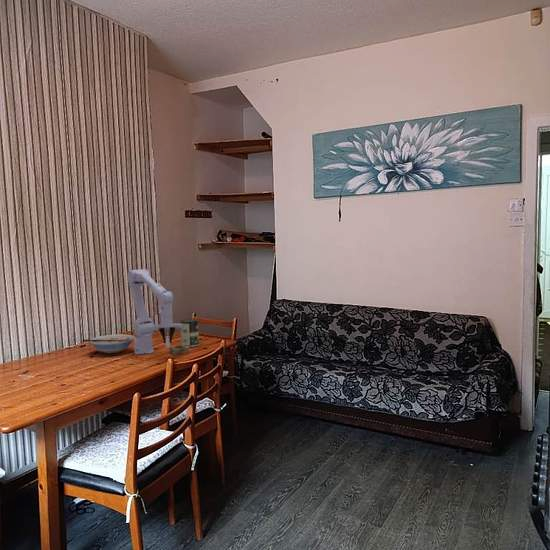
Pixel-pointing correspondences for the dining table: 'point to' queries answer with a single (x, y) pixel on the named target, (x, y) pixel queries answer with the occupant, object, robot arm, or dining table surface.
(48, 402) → the dining table surface
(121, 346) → the ramen bowl
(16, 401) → the dining table surface
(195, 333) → the coffee can
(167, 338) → the white banded cylinder
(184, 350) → the square wooden frame
